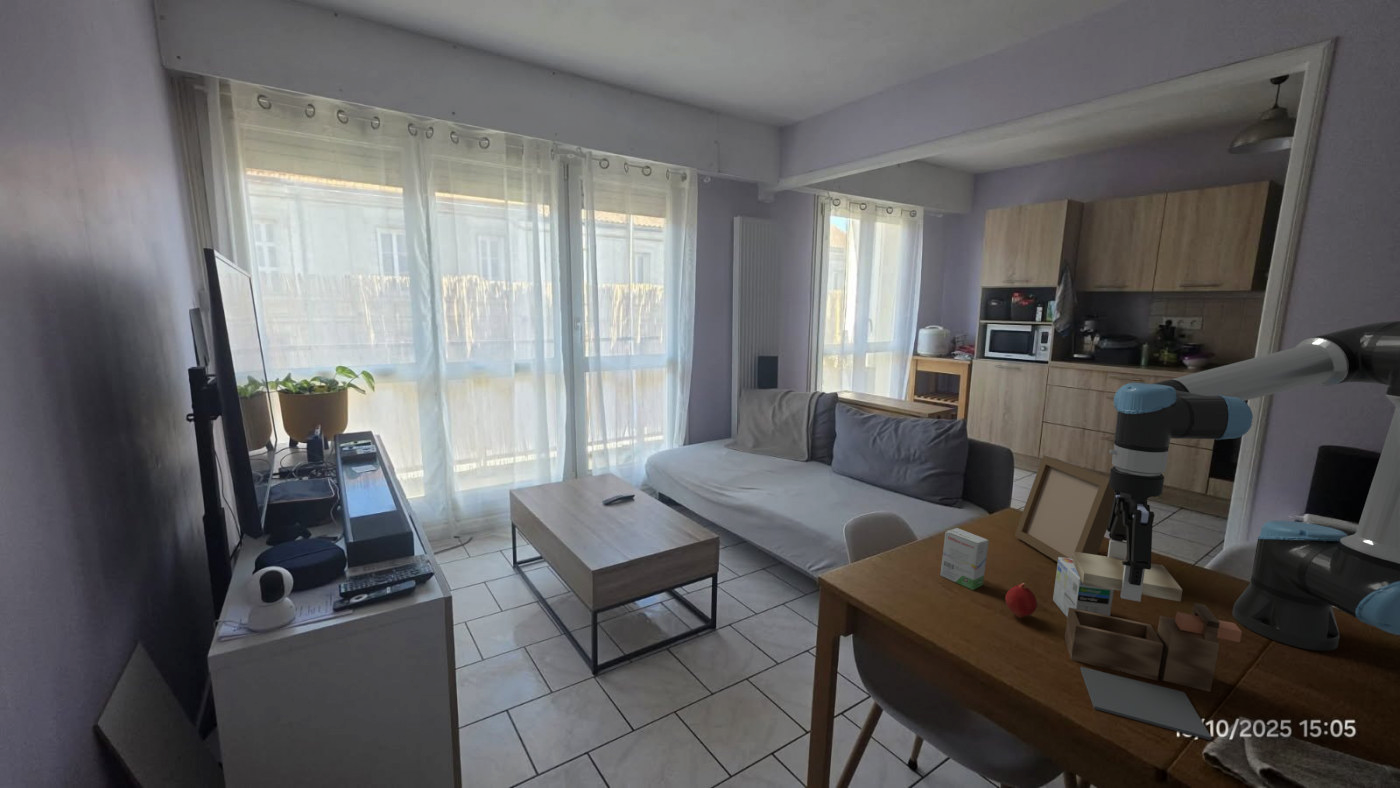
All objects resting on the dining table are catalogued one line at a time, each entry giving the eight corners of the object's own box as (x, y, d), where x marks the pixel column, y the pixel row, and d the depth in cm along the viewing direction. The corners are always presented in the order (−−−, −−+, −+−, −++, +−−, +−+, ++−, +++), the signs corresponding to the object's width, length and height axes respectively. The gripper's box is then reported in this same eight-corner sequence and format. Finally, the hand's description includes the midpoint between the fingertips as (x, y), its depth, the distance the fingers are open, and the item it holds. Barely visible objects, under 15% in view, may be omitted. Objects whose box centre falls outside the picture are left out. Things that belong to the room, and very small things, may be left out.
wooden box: (1195, 669, 99) (1207, 604, 97) (1211, 693, 93) (1224, 624, 91) (1064, 639, 108) (1072, 578, 106) (1071, 659, 102) (1080, 595, 100)
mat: (1183, 694, 93) (1184, 692, 93) (1211, 740, 83) (1211, 737, 83) (1080, 669, 99) (1080, 666, 99) (1094, 708, 89) (1094, 706, 89)
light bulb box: (1109, 631, 111) (1116, 583, 109) (1073, 626, 112) (1079, 579, 111) (1083, 603, 121) (1090, 559, 120) (1051, 599, 123) (1056, 556, 121)
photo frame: (1073, 576, 134) (1088, 480, 130) (1013, 538, 155) (1024, 455, 151) (1127, 574, 135) (1143, 479, 131) (1060, 537, 157) (1072, 455, 153)
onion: (998, 609, 119) (1002, 575, 117) (1024, 609, 118) (1028, 576, 117) (1012, 624, 113) (1017, 589, 112) (1040, 625, 113) (1045, 590, 111)
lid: (1161, 576, 101) (1163, 565, 100) (1180, 601, 92) (1182, 589, 92) (1072, 561, 107) (1073, 551, 106) (1082, 584, 98) (1084, 573, 98)
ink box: (939, 575, 133) (943, 531, 131) (951, 570, 136) (955, 526, 134) (973, 591, 126) (978, 544, 124) (984, 584, 129) (989, 538, 127)
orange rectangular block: (1232, 633, 95) (1234, 623, 94) (1239, 642, 92) (1242, 631, 92) (1174, 621, 98) (1176, 611, 98) (1180, 629, 96) (1182, 619, 95)
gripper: (1097, 452, 107) (1084, 556, 111) (1129, 486, 88) (1113, 611, 91) (1143, 456, 104) (1129, 563, 108) (1188, 492, 84) (1169, 621, 88)
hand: (1122, 585), depth 100 cm, fingers closed on lid, 10 cm apart
